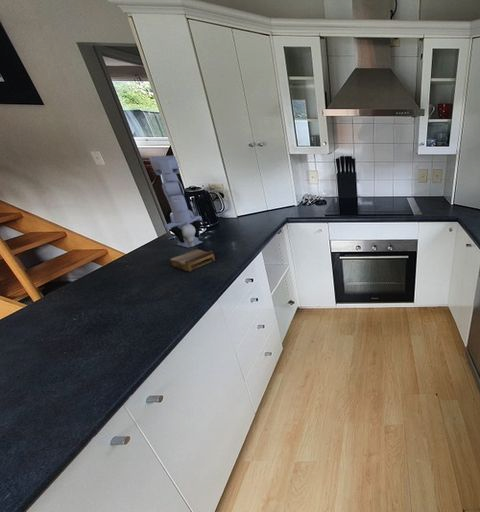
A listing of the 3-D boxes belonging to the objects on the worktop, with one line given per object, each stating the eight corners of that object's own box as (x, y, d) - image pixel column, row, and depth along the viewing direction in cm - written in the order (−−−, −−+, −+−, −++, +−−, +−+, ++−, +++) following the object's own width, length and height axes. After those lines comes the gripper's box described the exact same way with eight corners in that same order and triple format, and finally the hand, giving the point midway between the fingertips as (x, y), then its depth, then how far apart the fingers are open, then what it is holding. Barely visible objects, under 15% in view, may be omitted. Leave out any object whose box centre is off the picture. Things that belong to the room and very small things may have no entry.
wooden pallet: (172, 265, 122) (169, 256, 120) (199, 255, 132) (196, 246, 129) (189, 271, 117) (186, 261, 115) (215, 260, 127) (212, 251, 125)
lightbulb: (188, 244, 126) (181, 221, 122) (203, 243, 127) (196, 221, 122) (180, 249, 121) (172, 226, 116) (195, 249, 121) (188, 226, 116)
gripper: (167, 216, 109) (178, 247, 115) (202, 207, 121) (210, 235, 127) (157, 214, 112) (168, 244, 117) (192, 205, 123) (201, 233, 129)
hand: (189, 239), depth 122 cm, fingers closed on lightbulb, 6 cm apart
